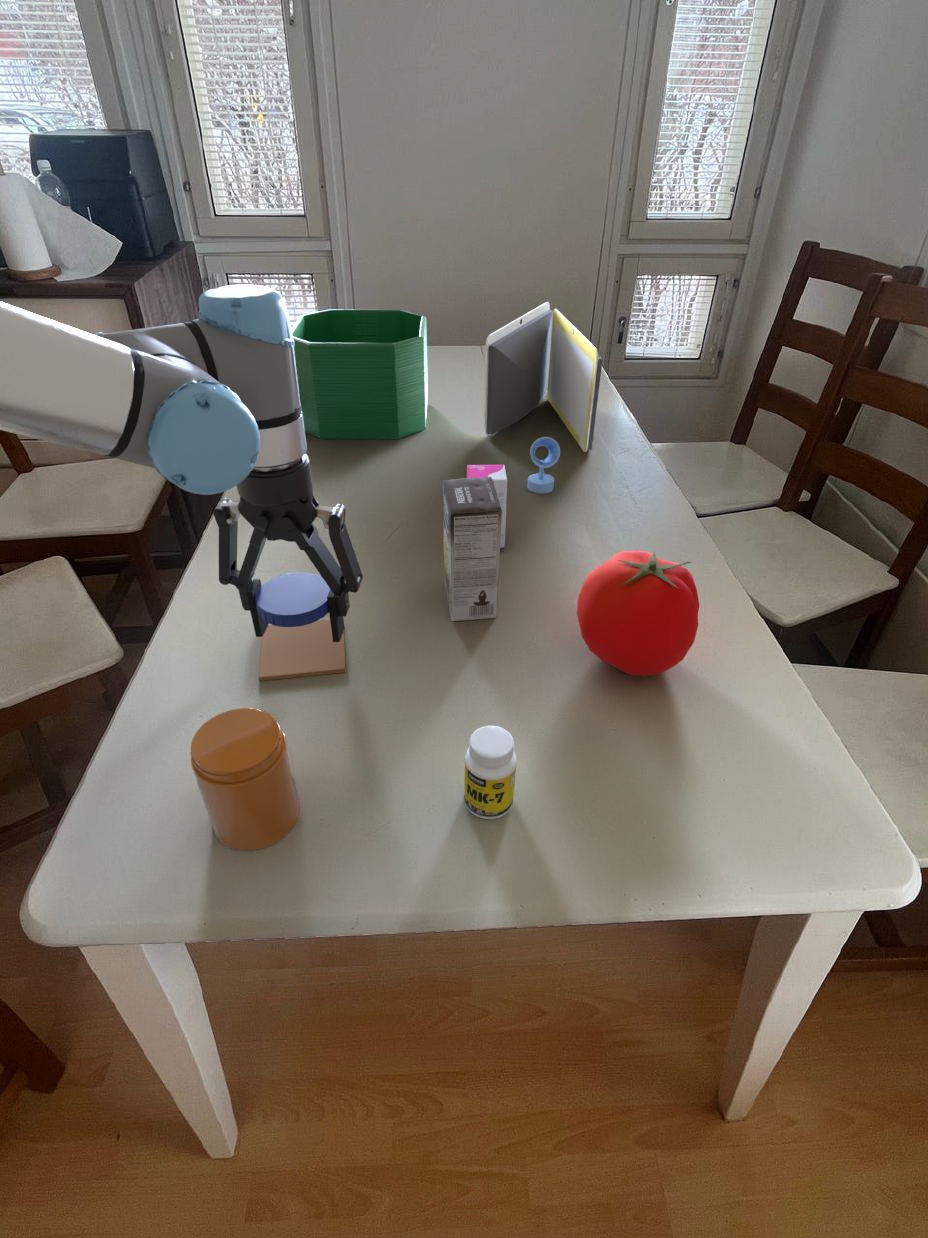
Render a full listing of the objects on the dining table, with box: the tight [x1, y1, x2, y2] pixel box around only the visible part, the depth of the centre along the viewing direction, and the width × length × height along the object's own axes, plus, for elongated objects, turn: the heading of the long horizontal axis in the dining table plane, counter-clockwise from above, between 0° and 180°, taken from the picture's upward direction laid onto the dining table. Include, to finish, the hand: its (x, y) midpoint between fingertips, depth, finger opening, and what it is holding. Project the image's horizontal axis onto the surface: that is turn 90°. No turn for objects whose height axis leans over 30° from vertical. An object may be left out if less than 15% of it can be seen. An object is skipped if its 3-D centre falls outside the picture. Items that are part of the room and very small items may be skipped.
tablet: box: [483, 301, 603, 453], centre depth 139 cm, size 35×22×20 cm, turn 10°
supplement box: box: [466, 464, 508, 552], centre depth 102 cm, size 6×6×12 cm
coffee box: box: [442, 477, 502, 622], centre depth 88 cm, size 9×6×16 cm
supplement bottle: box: [463, 725, 517, 820], centre depth 64 cm, size 5×5×8 cm
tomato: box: [576, 549, 700, 677], centre depth 81 cm, size 16×14×14 cm
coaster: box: [257, 618, 347, 682], centre depth 85 cm, size 10×10×1 cm
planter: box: [291, 309, 429, 440], centre depth 141 cm, size 26×26×18 cm
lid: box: [255, 571, 330, 627], centre depth 80 cm, size 9×9×2 cm
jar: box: [190, 707, 301, 852], centre depth 62 cm, size 8×8×10 cm
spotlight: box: [526, 436, 561, 494], centre depth 117 cm, size 5×10×7 cm
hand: (300, 632), depth 83 cm, fingers closed on lid, 9 cm apart
